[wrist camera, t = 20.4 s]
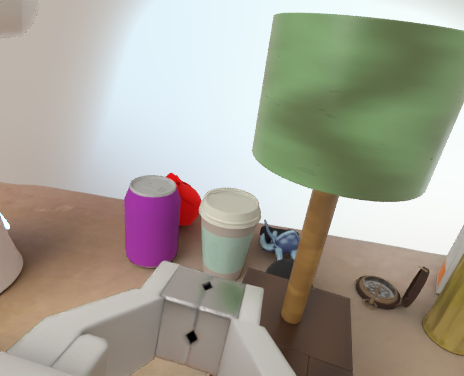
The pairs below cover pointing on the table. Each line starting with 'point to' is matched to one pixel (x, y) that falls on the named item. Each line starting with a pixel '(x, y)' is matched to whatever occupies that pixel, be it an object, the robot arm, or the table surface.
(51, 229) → the table surface
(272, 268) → the light bulb
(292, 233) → the figurine
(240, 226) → the coffee cup
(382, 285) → the compass
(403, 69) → the lamp
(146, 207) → the beverage can
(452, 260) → the cosmetic box
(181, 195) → the flower
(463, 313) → the vase
